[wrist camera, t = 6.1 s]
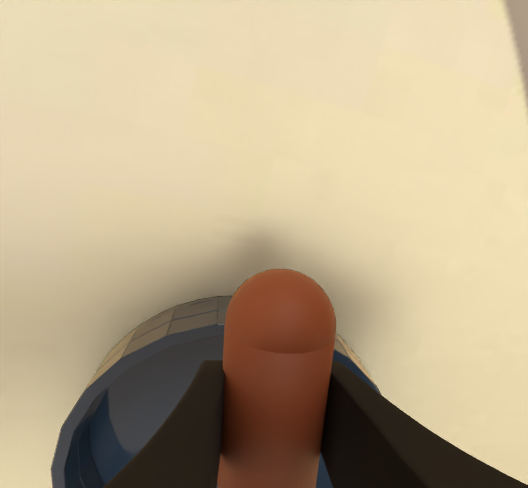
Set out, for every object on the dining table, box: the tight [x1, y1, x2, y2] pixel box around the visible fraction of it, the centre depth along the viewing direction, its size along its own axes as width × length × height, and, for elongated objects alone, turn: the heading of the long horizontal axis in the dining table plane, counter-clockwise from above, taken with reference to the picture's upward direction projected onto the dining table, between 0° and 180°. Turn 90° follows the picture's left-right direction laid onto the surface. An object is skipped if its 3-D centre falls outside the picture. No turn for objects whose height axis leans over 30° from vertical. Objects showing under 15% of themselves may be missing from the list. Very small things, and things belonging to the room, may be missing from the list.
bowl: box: [51, 296, 381, 488], centre depth 19 cm, size 17×17×4 cm
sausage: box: [217, 269, 336, 488], centre depth 10 cm, size 8×3×3 cm, turn 176°
